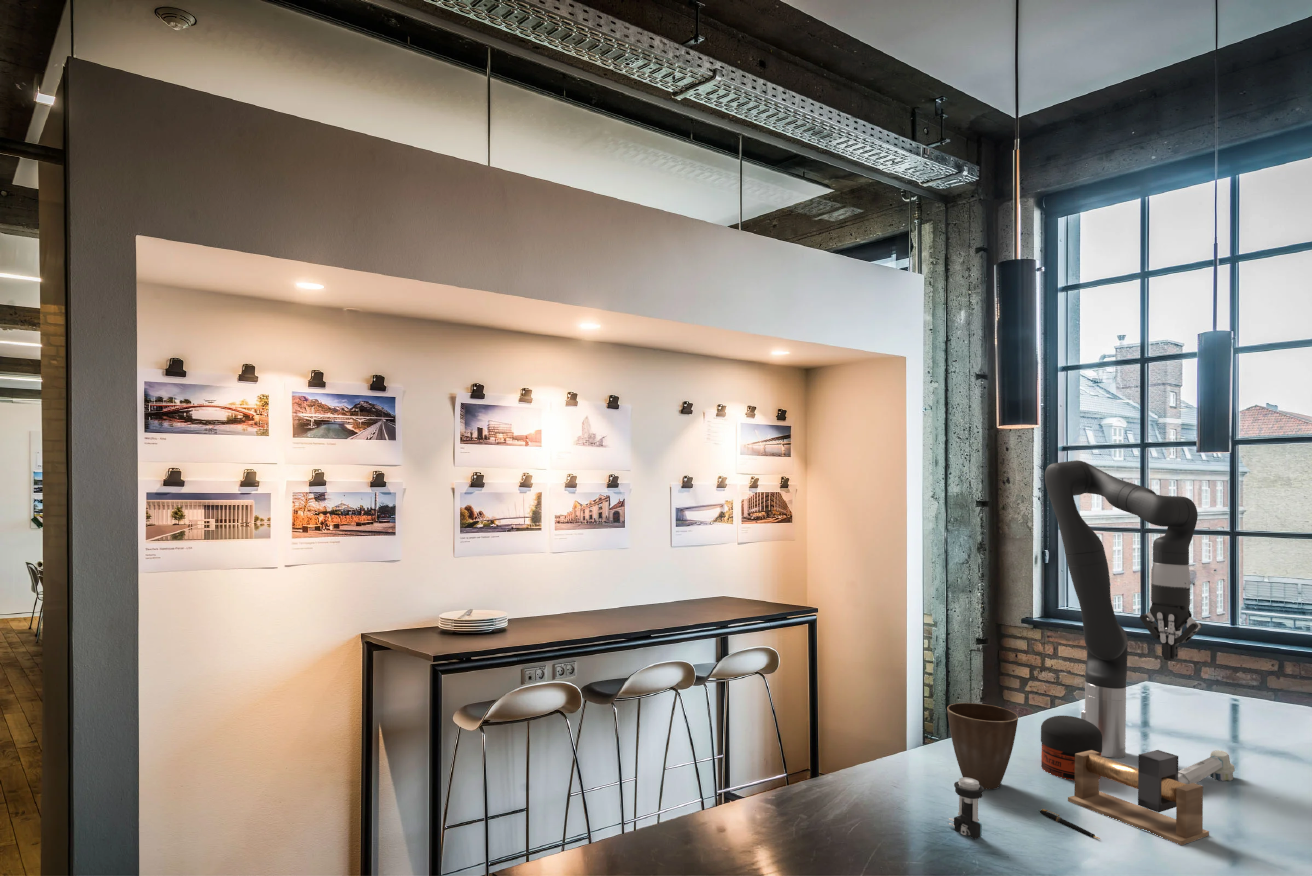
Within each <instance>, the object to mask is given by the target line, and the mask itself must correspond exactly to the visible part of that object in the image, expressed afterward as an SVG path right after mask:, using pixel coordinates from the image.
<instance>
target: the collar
mask: <svg viewBox="0 0 1312 876" xmlns="http://www.w3.org/2000/svg"><path fill="white" fill-rule="evenodd" d="M1137 758H1138V761H1137V762H1138V763H1137V764H1138V765H1137V766H1138V767H1137V768H1138V789H1137V805H1138V806H1141V807H1144V808H1147V809H1149V810H1152V811H1155V812H1157V813H1162V812H1165V811H1168V810H1171V809H1174V808H1176V802H1173V801H1170V800H1167V799H1165V798H1162V797H1161V778H1162V777H1166V778H1169V779H1172V780H1175V781H1178V771H1179V755H1177V754H1173V753H1169V752H1166V751H1163V750H1159V749H1155V750H1151V751H1148V752H1143V753H1139V754H1138V757H1137Z"/></svg>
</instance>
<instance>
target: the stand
mask: <svg viewBox="0 0 1312 876" xmlns="http://www.w3.org/2000/svg"><path fill="white" fill-rule="evenodd" d="M1090 754H1096V755H1100V753H1099V752H1096V751H1093V750H1089V751H1085V752H1081V753H1076V754H1075V781H1074V795H1072V796H1068V797H1067V802H1070V803H1072V804H1074V805H1077V806H1079V807H1081V808H1084V809H1087V810H1090V811H1092V812H1094V811H1095V813H1097V812H1098V813H1097V814H1100V815H1102V814H1104V815H1103V816H1105V817H1107V816H1109V817H1108V818H1110V817H1111V819H1112V818H1114V819H1113V820H1115V819H1117V820H1116V821H1118V820H1120V821H1122V822H1121V823H1123V822H1124V823H1123V824H1125V823H1127V824H1126V825H1128V824H1130V825H1133V826H1135V827H1138V828H1140V829H1139V830H1141V829H1144V830H1147V831H1150V832H1151V833H1154V834H1156V835H1158V836H1157V837H1159V836H1161V837H1163V838H1162V839H1164V840H1166V839H1168V840H1167V841H1169V840H1170V842H1171V841H1172V843H1174V842H1175V843H1174V844H1177V843H1178V844H1177V845H1179V846H1183V845H1187V844H1189V843H1192V842H1195V841H1198V840H1200V839H1203V838H1206V837H1208V836H1210V831H1209V830H1206V829H1204V828H1203V827H1204V826H1203V825H1204V824H1203V822H1204V821H1203V819H1204V816H1203V813H1204V811H1203V810H1204V803H1203V801H1204V786H1203V785H1201V784H1198V783H1196V784H1195V783H1191V784H1187V785H1184V786H1180V787H1177V789H1176V807H1175V808H1176V809H1175V813H1176V814H1175V818H1174V817H1171V816H1168V815H1165V814H1164V813H1161V812H1159V813H1158V812H1156V811H1153V810H1150V809H1147V808H1145V807H1142V806H1139V805H1138V804H1135V803H1133V802H1130V801H1127V800H1125V799H1122V798H1118V797H1116V796H1114V795H1111V794H1109V793H1106V792H1102V791H1100V779H1099V775H1096V774H1093V773H1090V772H1088V771H1087V769H1086V759H1087V757H1088V756H1089V755H1090ZM1120 821H1119V822H1120ZM1130 825H1129V826H1130ZM1133 826H1132V827H1133ZM1135 827H1134V828H1135ZM1138 828H1137V829H1138ZM1151 833H1150V834H1151ZM1156 835H1155V836H1156ZM1161 837H1160V838H1161ZM1186 843H1187V844H1186Z"/></svg>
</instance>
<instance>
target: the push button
mask: <svg viewBox="0 0 1312 876" xmlns="http://www.w3.org/2000/svg"><path fill="white" fill-rule="evenodd" d="M953 784H954V785H953V786H954V790H955V791H954V792H955V793H956V795H957V796H958V800H959V801H958V812H957V816H953V818H952V817H949V818H948V820H949V821H951V822H949V823H948V825H950V826H952V827H954V831H956V832H958V833H960V834H961V835H963V836H967V837H969V838H971V839H972V840H977V839H979V838H982V836H983V835H982V834H983V833H982V832H983V824H982V822H980V818H979V799H981V798H982V797H983V793H984V791H985V789H984V788H983V787H982V786H981V785H979V782H978V781H977V780H975V779H972V778H965V777H964V778H963V777H959V779H958V781H955V782H954V783H953ZM952 822H953V823H952Z"/></svg>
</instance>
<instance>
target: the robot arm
mask: <svg viewBox="0 0 1312 876" xmlns="http://www.w3.org/2000/svg"><path fill="white" fill-rule="evenodd" d="M1044 482H1045V488H1046V491H1047V494H1048V498H1049V499H1050V502H1051V506H1052V508H1053V511H1054V514H1055V518H1056V521H1057V524H1058V529H1059V531H1060V536H1061V539H1062V543H1063V549H1064V555H1065V558H1066V563H1067V567H1068V571H1069V574H1070V578H1071V581H1072V585H1073V589H1074V592H1075V594H1076V597H1077V600H1078V602H1079V603H1078V604H1079V607H1080V611H1081V612H1080V613H1081V620H1082V628H1083V637H1084V643H1085V646H1086V665H1085V670H1084V671H1085V672H1084V673H1085V675H1084V681H1085V682H1084V684H1085V685H1084V709H1083V710H1081V712H1080V718H1081V719H1084V720H1086V721H1089V722H1090V723H1092V724H1094V725H1095V726H1096V727H1097V728H1098V729H1099V730H1100V731H1101V734H1102V752H1101V756H1102V757H1105V758H1113V759H1114V758H1117V759H1119V758H1124V757H1125V756H1126V749H1127V747H1126V735H1127V734H1126V733H1127V732H1126V728H1127V727H1126V725H1127V724H1126V722H1127V719H1126V718H1127V707H1126V706H1127V675H1128V674H1127V673H1128V647H1129V646H1128V635H1127V632H1126V631H1125V629H1124V628H1123V627H1122V626H1121V624H1119V623H1118V620H1117V617H1116V614H1115V611H1114V607H1113V603H1112V602H1113V601H1112V596H1111V578H1110V570H1109V565H1108V564H1109V563H1108V560H1107V555H1106V551H1105V548H1104V544H1103V542H1102V540H1101V539H1100V537H1099V536H1098V535H1097V534H1096V533H1095V531H1094V530H1093V529H1092V528H1091V527H1090V526H1089V524H1087V522H1086V521H1085V520H1084V519H1083V518H1082V516H1081V515H1080V513H1079V510H1078V508H1077V505H1076V502H1075V496H1081V495H1084V494H1091V495H1098V496H1100V497H1101V496H1102V497H1104V498H1105V499H1106V501H1107V502H1108V503H1109V504H1110V506H1112V507H1113V508H1115V509H1118V510H1121V511H1123V512H1125V513H1128V514H1132V515H1135V516H1137V517H1138V518H1140V519H1141V520H1143V521H1145V522H1146V523H1148V524H1150V525H1154V526H1157V527H1163V528H1164V527H1166V528H1167V529H1166V532H1165V534H1164V535H1163V536H1160V537H1157V538H1155V539H1154V540H1153V542H1152V566H1151V574H1150V575H1151V576H1150V577H1151V578H1150V580H1151V582H1150V585H1151V590H1150V601H1151V606H1150V607H1149V611H1148V612H1146V613H1144V614H1140V615H1139V619H1140V620H1141V622H1142V624H1143V625H1144V626H1145V628H1146V629H1147V631H1148V632H1149V633H1150V635H1151V636H1152V638H1153V639H1154V640H1155V639H1156V640H1158V641H1159V642H1160V643H1161V656H1162V658H1163V660H1164V661H1170V662H1174V661H1176V660H1177V659H1178V657H1179V645H1180V644H1184V643H1188V642H1189V641H1190V640H1191V639H1192V638H1193V637H1194V636H1195V635H1196V634H1197V633H1198V632H1199V631H1200V629H1202V627H1203V624H1202V623H1201V622H1197V621H1196V620H1195V619H1194V618H1193V616H1192V615H1193V614H1192V613H1191V610H1190V606H1191V584H1192V582H1191V571H1190V545H1191V542H1192V540H1193V537H1194V534H1195V533H1194V532H1195V529H1196V526H1197V523H1198V518H1199V516H1198V508H1197V506H1196V504H1195V503H1194V501H1193V500H1192V499H1191V498H1188V497H1186V496H1182V495H1181V496H1180V495H1160V494H1157V493H1156V492H1155V491H1154V490H1153V489H1151V488H1149V487H1146V486H1142V485H1139V484H1136V483H1132V482H1129V481H1126V480H1123V479H1120V478H1118V477H1115V476H1113V475H1112V474H1109V473H1108V472H1104V471H1103V470H1102V469H1099V468H1098V467H1095V466H1094V465H1093V464H1090V463H1088V462H1086V461H1084V460H1069V461H1068V460H1067V461H1060V462H1053V463H1050V464H1049V465H1048V466H1047V467H1046V469H1045V471H1044ZM1185 626H1186V629H1185V630H1183V628H1184V627H1185ZM1182 631H1183V632H1182Z"/></svg>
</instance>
